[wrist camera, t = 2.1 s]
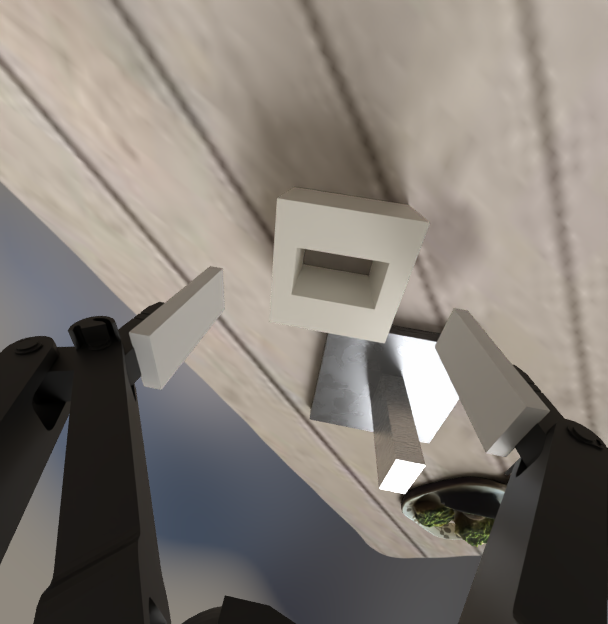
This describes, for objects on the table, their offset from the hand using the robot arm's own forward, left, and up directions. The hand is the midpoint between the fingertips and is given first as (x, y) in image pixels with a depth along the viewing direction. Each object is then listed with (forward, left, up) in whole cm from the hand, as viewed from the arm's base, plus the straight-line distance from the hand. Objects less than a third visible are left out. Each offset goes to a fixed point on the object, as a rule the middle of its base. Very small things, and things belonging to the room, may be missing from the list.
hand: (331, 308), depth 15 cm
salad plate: (+37, +27, -10) cm, 47 cm away
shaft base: (+14, +8, -9) cm, 18 cm away
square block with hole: (0, 0, -9) cm, 9 cm away
